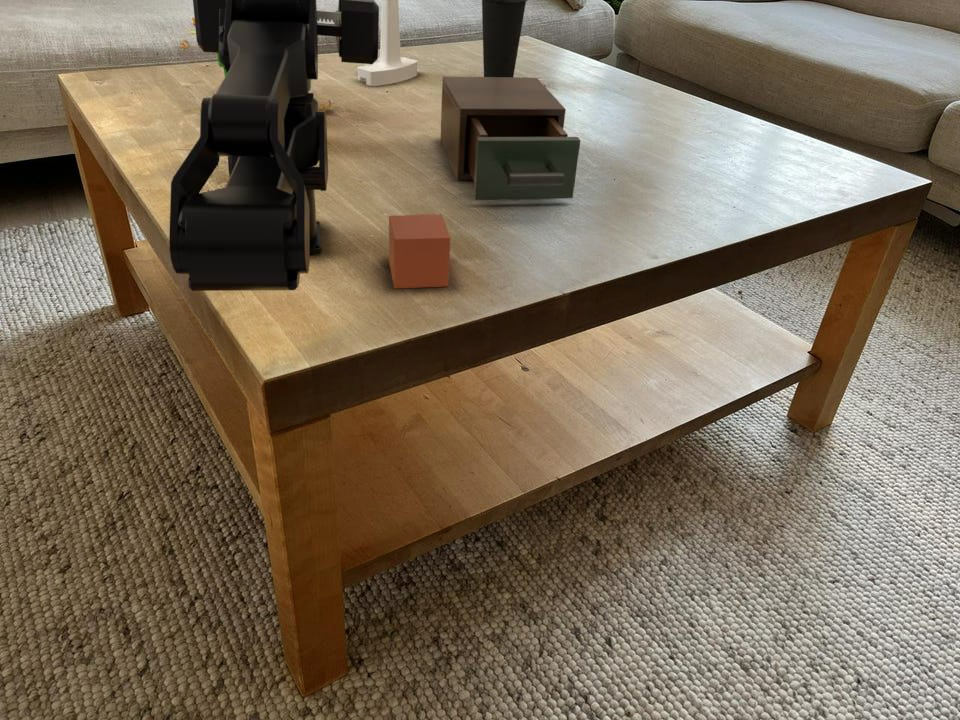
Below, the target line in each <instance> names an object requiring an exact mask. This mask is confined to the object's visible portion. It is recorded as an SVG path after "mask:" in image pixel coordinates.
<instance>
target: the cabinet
mask: <svg viewBox="0 0 960 720" xmlns="http://www.w3.org/2000/svg"><path fill="white" fill-rule="evenodd" d="M441 80H442V84H441V111H440V112H441V113H440V115H441V116H440V117H441V118H440V144H441V147H442V149H443V152H444V153H445V156H446V158H447V160H448V163H449V164H450V167H451V169H452V172H453V174H454V177H455V178H456V180H457V181H473V179H472V177H471V175H470V173H469V170H468V168H467V166H466V164H465V142H466V123H467V115H522V116H552V117H553V118H554V119H555V120H556V121H557V122H558V124H559V125H560V126H561V127H562V128H563V129H564V126H565V120H566V110H567V109H566V107H564V106H563V104H561V102H560V101H559V100H558V99H557V98H556V96H554V95H553V94H552V93H551V91H549V89H548V88H547V87H546V86H545V85H544V84H543V83H542V82H541V81H540V80H539V79H538V77H515V76H513V77H484V76H442V79H441Z"/></svg>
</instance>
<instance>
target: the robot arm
mask: <svg viewBox="0 0 960 720" xmlns="http://www.w3.org/2000/svg"><path fill="white" fill-rule="evenodd" d="M192 5H193V6H192V7H193V18H194V19H195V26H194V27H195V31H196V34H195V36H196V38H195V39H196V43H197V46H198V48H200V49H201V50H202V52H203V53H211V54H213V53H214V54H217V53H219V60H220V62H221V63H222V64H223V65H224V66H225V69H226V72H227V74H226V76H225V75H224V78H223V79H222V82H221V84H220V85H219V87H218V89H217V90H216V92H215V93H213V94H212V96H211V97H203V98H202V100H201V103H200V118H199V119H200V124H199V126H200V127H199V137H198V139H197V141H196V142H195V144H194V145H193V147H192V148H191V150H190V151H189V153H188V154H187V156H186V157H185V159H184V160H183V162H182V163H181V165H180V166H179V168H178V169H177V171H176V172H175V173H174V175H173V176H172V179H171V182H170V199H169V200H170V201H169V202H170V203H169V204H170V205H169V232H168V233H169V234H168V235H169V236H168V237H169V238H168V240H169V255H170V262H171V265H172V268H173V270H174V272H175V273H176V274H177V275H178V274H179V275H188V276H189V277H188V288H189V290H191V291H192V292H216V291H217V292H222V291H224V292H225V291H226V292H228V291H235V292H236V291H238V292H239V291H242V292H243V291H244V292H245V291H246V292H247V291H249V292H250V291H251V292H252V291H296V289H298V288H299V285H300V279H301V277H300V276H301V274H309V272H310V255H311V254H321V253H322V252H323V241H322V240H323V239H322V223H321V221H319V220H317V214H316V213H317V211H316V210H317V209H316V195H315V194H316V193H315V191H321V192H326V191H327V187H328V180H329V155H328V154H329V153H328V125H327V113H326V110H325V111H323V110H320V111H317V110H319V101H318V100H317V99H316V98H314V96H315V95H314V92H313V93H308V92H309V91H310V87H311V79H312V81H314V80H318V78H319V51H318V50H319V48H318V47H319V45H318V43H319V42H318V40H319V39H318V36H322V37H323V36H324V37H335V40H336V46H337V47H336V48H337V53H338V57H339V58H341V59H340V60H341V63H349V64H350V63H351V64H363V65H364V64H373V63H374V62H375V61H376V60H377V59H378V58H379V30H380V28H379V27H380V26H379V25H380V5H378V4H377V2H376V0H338V5H337V10H335V11H329V10H318V8H317V0H192ZM320 20H321V22H320ZM324 21H325V23H324ZM331 21H332V23H331ZM327 22H329V23H327ZM220 157H227V167H228V174H229V175H228V176H229V178H228V180H227V182H226V184H225V186H224V187H221V188H217V189H213V190H208V191H204V192H201V191H202V190H203V188H204V187H205V185H206V183H207V182H208V180H209V179H210V178H211V176H212V174H213V173H214V171H215V170H216V169H217V167H218V166H219V162H220ZM317 165H318V166H317Z"/></svg>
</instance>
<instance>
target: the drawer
mask: <svg viewBox="0 0 960 720" xmlns="http://www.w3.org/2000/svg"><path fill="white" fill-rule="evenodd" d="M580 146H581V139H580V138H579V136H569V133H567V131H566V130H565V129H564V127H563V128H562V127H561V126H560V125H559V124H558V122H557V121H556V120H555V119H554V118H553V117H552V116H522V115H467V123H466V142H465V164H466V166H467V168H468V170H469V173H470V175H471V177H472V179H473V180H472V181H473V194H472V195H473V198H474V201H498V200H500V201H501V200H502V201H504V200H505V201H506V200H507V201H508V200H553V199H554V200H555V199H557V200H558V199H560V200H561V199H573V198H574V197H573V196H574V192H575V191H574V190H575V182H576V175H577V168H578V161H579V155H580Z"/></svg>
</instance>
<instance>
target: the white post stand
mask: <svg viewBox="0 0 960 720" xmlns="http://www.w3.org/2000/svg"><path fill="white" fill-rule="evenodd" d="M399 7H400V5H399V0H381V15H380V17H381V18H380V44H379V45H380V46H379V57H378V59H377V60H376V61H375V62H374V63H373V64H363V65H362V66H360V65H359V66H357V80H359V81H362V80H363V81H364V80H365V82H366V83H365V84H366V86H371V87H377V86H378V87H379V86H386V85H391V84H396V83H401V82H404V81H407V80H410V79H413V78H415V77H416V76H418V60H416V59H412V58H408V57H404V56H402V52H401V31H400V30H401V29H400V13H399V12H400V8H399Z"/></svg>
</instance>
